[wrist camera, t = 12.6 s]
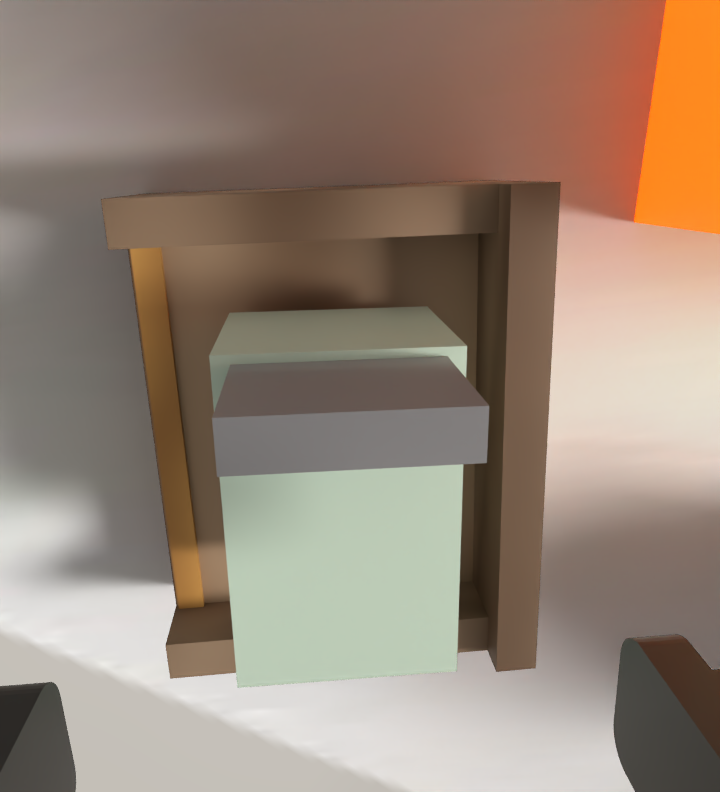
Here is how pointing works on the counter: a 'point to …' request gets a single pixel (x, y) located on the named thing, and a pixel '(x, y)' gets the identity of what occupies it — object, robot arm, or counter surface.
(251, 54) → the counter surface
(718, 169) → the orange juice
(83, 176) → the counter surface
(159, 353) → the dock
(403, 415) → the light green boxy piece
